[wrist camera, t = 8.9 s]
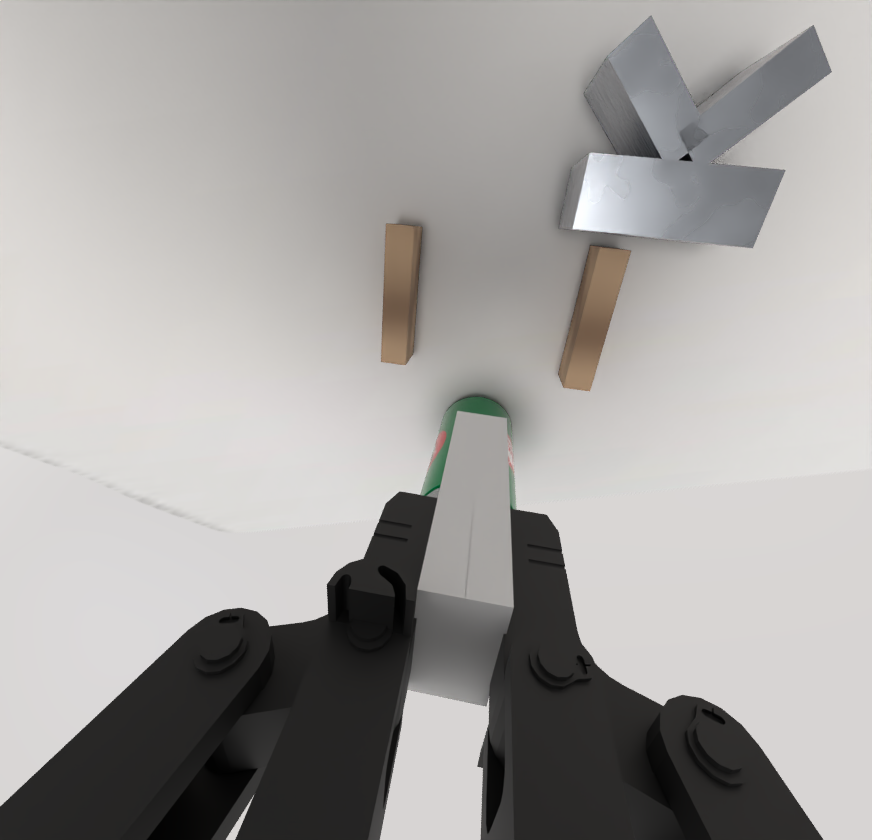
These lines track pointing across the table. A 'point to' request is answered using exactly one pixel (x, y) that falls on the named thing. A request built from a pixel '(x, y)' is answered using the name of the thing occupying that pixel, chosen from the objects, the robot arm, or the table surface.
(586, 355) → the channel
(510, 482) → the soda can
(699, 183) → the v block
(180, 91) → the table surface
